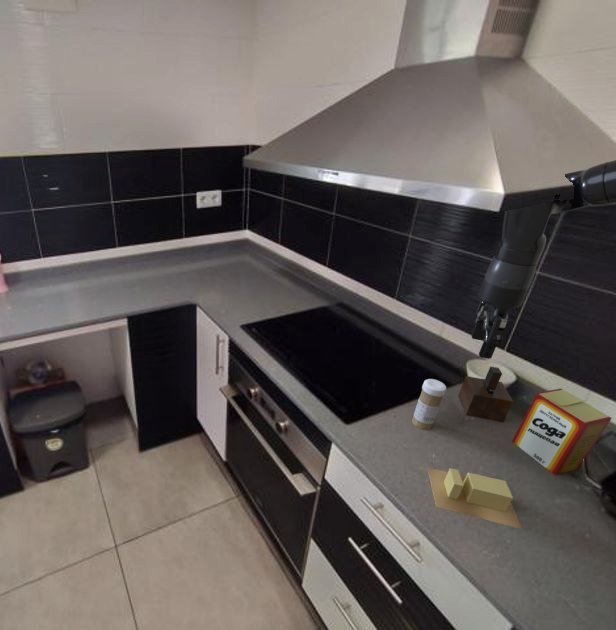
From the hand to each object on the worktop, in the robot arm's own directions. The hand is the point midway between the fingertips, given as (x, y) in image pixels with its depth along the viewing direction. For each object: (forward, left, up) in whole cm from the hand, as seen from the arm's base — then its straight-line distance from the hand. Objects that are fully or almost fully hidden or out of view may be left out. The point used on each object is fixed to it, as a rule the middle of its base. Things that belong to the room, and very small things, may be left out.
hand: (480, 347), depth 85 cm
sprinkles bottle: (+8, +5, -22) cm, 24 cm away
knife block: (-7, -6, -22) cm, 24 cm away
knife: (-7, -6, -20) cm, 23 cm away
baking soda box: (-16, +7, -22) cm, 28 cm away
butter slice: (+5, +24, -21) cm, 32 cm away
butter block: (0, +24, -21) cm, 32 cm away
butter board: (+2, +24, -22) cm, 32 cm away
